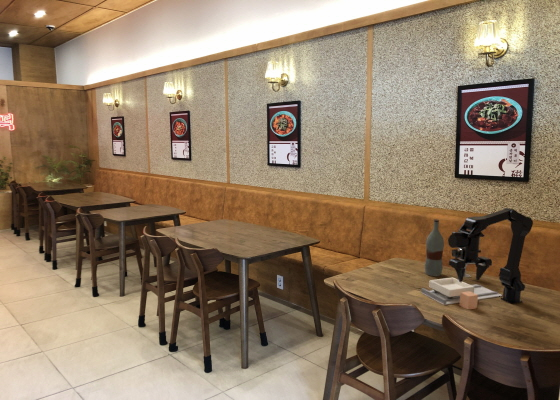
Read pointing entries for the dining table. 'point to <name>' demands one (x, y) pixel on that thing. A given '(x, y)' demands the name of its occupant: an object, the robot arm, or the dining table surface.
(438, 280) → the cream rimmed tray
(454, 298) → the track
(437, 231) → the bottle
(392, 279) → the dining table surface
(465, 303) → the block
